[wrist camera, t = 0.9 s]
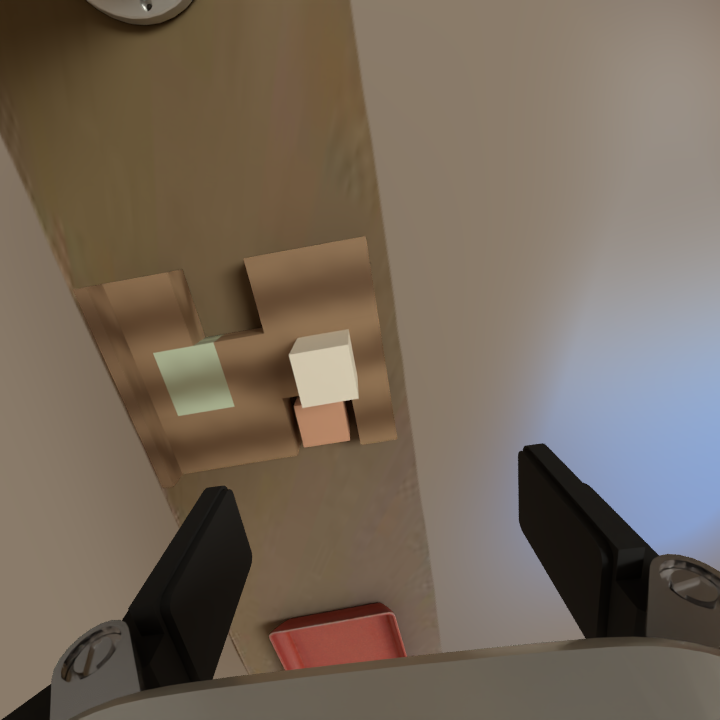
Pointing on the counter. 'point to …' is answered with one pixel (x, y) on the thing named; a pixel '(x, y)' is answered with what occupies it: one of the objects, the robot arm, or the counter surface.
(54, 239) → the counter surface
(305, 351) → the cream cube
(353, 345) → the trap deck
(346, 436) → the salmon block
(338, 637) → the plant saucer
